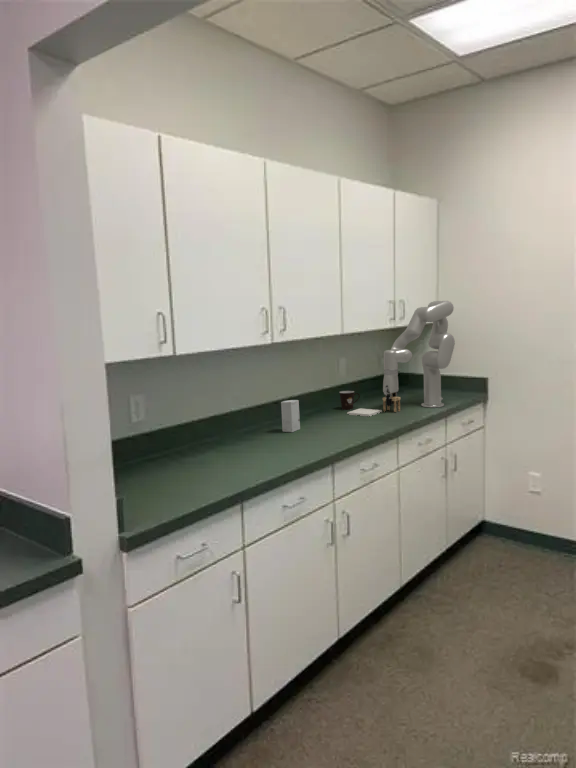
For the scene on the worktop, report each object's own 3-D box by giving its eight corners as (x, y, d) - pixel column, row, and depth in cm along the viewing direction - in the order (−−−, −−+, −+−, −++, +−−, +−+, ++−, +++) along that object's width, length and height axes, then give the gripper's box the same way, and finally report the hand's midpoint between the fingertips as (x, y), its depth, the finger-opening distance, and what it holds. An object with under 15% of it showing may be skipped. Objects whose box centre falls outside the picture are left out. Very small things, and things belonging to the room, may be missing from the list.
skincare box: (292, 432, 284) (291, 402, 282) (281, 431, 287) (280, 401, 285) (300, 429, 291) (299, 399, 289) (290, 428, 294) (288, 399, 292)
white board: (360, 410, 335) (360, 408, 334) (382, 412, 326) (382, 410, 326) (347, 414, 324) (347, 412, 324) (369, 416, 315) (369, 414, 315)
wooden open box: (387, 410, 331) (387, 396, 330) (400, 411, 326) (400, 397, 325) (383, 411, 327) (382, 397, 326) (396, 412, 322) (395, 398, 321)
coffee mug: (339, 410, 338) (339, 393, 336) (340, 407, 346) (339, 391, 345) (360, 410, 336) (359, 392, 335) (360, 407, 345) (359, 390, 343)
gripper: (392, 370, 333) (392, 402, 335) (377, 374, 320) (378, 406, 322) (404, 370, 328) (404, 402, 331) (389, 374, 315) (390, 407, 317)
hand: (391, 404), depth 326 cm, fingers closed on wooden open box, 5 cm apart
